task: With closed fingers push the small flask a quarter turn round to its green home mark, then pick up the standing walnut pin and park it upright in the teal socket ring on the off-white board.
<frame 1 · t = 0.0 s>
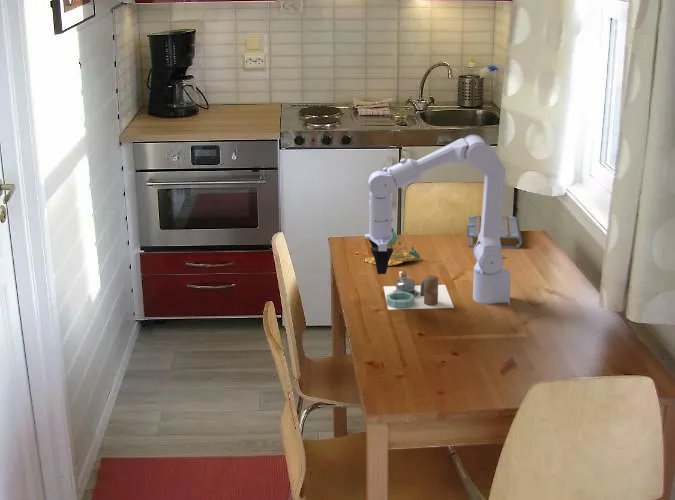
hand: (380, 268, 232), 10 cm above the table, fingers open, 7 cm apart
board: (417, 299, 238), on the table
pin: (430, 302, 234), point 1 cm above the table, touching board
socket: (400, 305, 234), resting on board
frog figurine: (392, 263, 266), on the table
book: (493, 239, 286), on the table
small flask: (404, 282, 242), point 3 cm above the table, hinge at 90.0°
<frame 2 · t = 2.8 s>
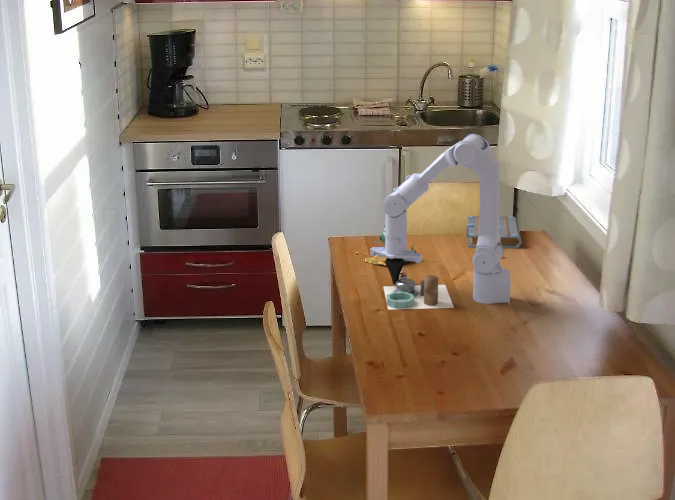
hand: (395, 283, 245), 2 cm above the table, fingers closed, pressing on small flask
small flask: (404, 282, 242), point 3 cm above the table, hinge at 89.6°, touching gripper
everything else where it was.
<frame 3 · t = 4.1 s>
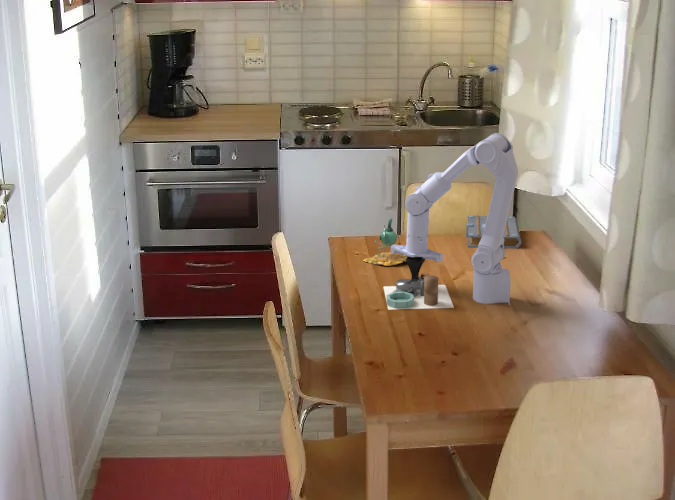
hand: (415, 281, 244), 2 cm above the table, fingers closed, pressing on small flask
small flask: (413, 284, 241), point 3 cm above the table, hinge at 36.9°, touching gripper
everything else where it was.
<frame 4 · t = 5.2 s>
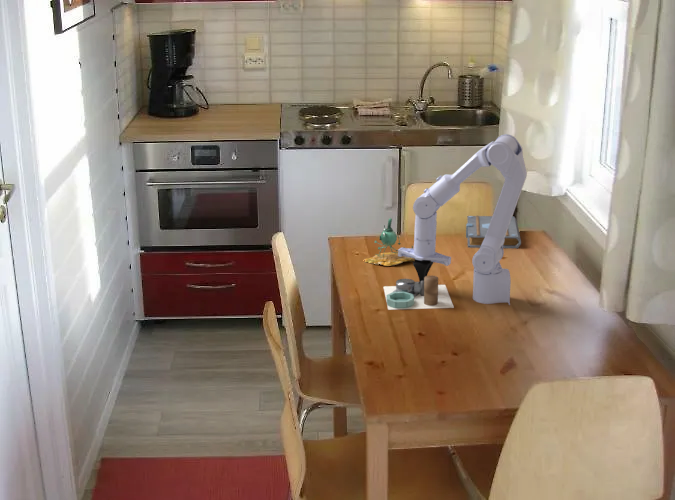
hand: (422, 285, 242), 2 cm above the table, fingers closed, pressing on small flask
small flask: (416, 286, 239), point 3 cm above the table, hinge at -1.4°, touching board, gripper
everything else where it was.
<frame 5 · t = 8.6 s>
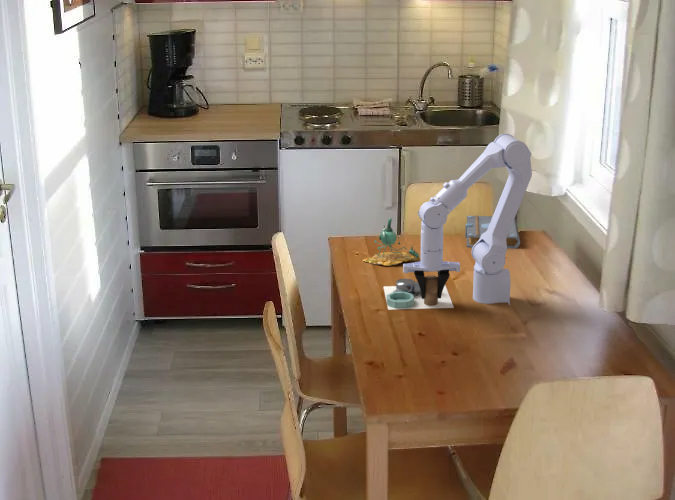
hand: (431, 297, 233), 2 cm above the table, fingers closed on pin, 4 cm apart
pin: (430, 302, 234), point 1 cm above the table, touching board, gripper
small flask: (416, 286, 239), point 3 cm above the table, hinge at -1.4°, touching board
everything else where it was.
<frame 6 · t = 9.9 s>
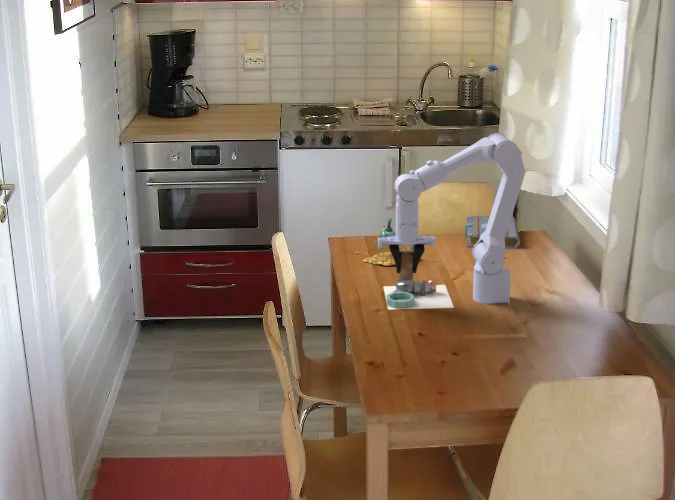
hand: (406, 271, 231), 10 cm above the table, fingers closed on pin, 4 cm apart
pin: (406, 278, 232), point 8 cm above the table, touching gripper
everything else where it was.
when the fingers open (4 cm above the table, at t = 11.5 s): pin stays where it is, resting on socket.
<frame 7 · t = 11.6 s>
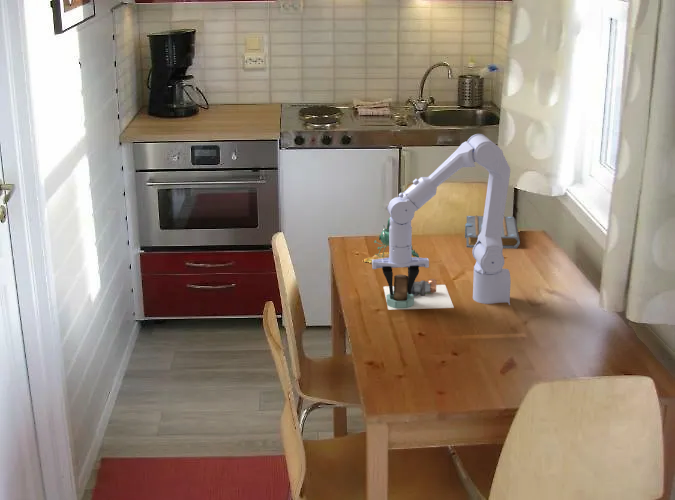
hand: (400, 293, 233), 4 cm above the table, fingers open, 4 cm apart
pin: (400, 301, 234), point 1 cm above the table, touching socket
everything else where it was.
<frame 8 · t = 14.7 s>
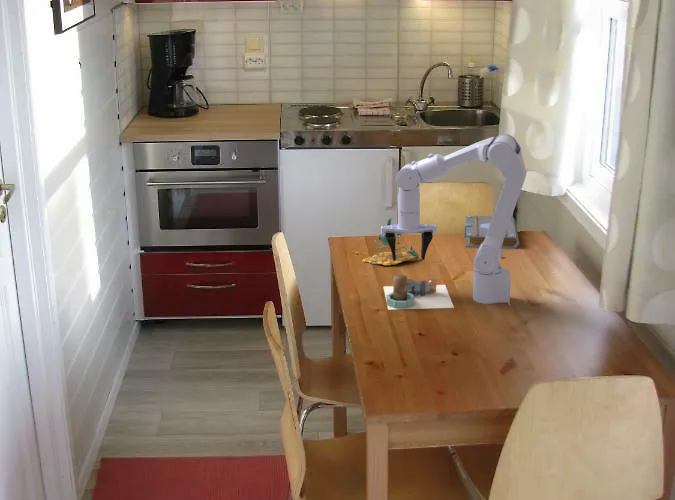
hand: (408, 259, 239), 10 cm above the table, fingers open, 7 cm apart
nothing on the table moved.
at the end: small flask at -1° (first picture: +90°); pin 0.0 cm off-centre on the socket, point 1.1 cm above the socket's base; pin tilted 0° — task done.
